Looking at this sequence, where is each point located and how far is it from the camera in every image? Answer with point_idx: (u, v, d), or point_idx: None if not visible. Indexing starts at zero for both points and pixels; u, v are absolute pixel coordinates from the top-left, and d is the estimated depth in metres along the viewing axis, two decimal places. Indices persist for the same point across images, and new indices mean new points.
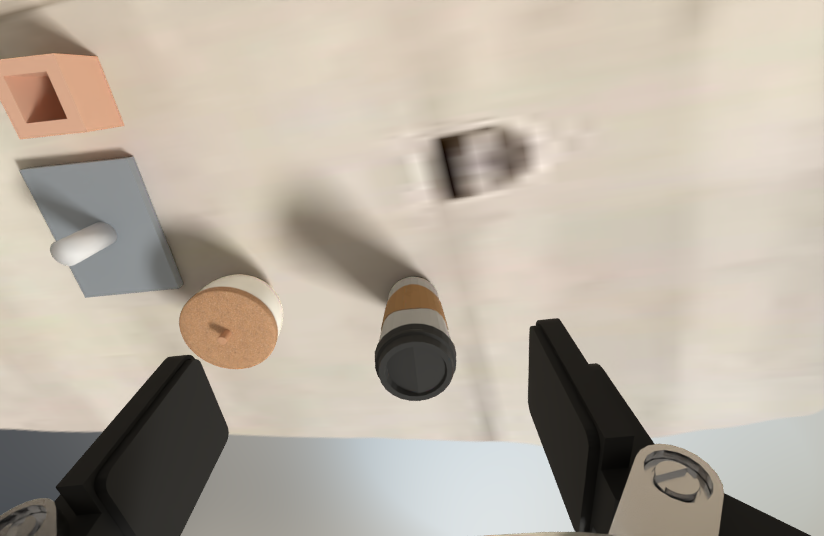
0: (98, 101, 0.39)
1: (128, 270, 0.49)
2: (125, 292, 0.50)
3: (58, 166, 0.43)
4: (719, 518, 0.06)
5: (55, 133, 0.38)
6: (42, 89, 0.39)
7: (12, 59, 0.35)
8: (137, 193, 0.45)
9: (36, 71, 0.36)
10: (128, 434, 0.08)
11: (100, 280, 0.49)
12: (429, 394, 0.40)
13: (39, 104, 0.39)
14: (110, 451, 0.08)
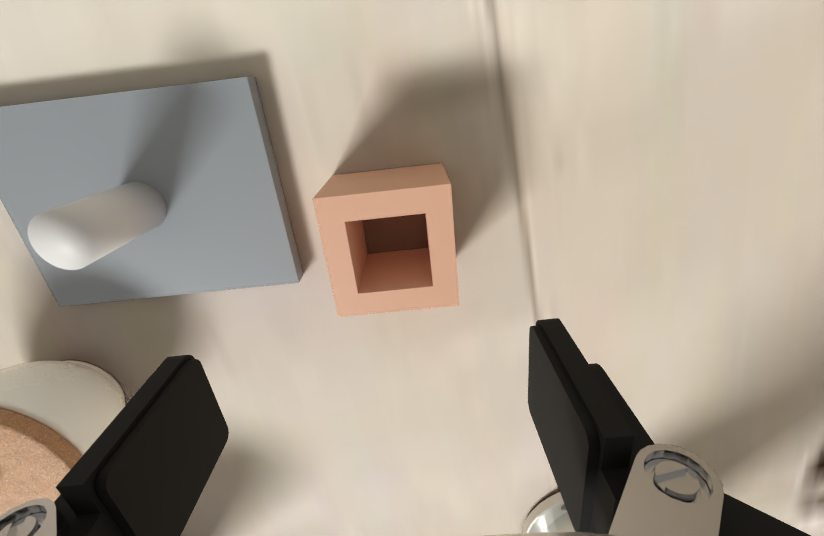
0: None
1: None
2: (7, 207, 0.23)
3: (267, 160, 0.23)
4: (719, 518, 0.06)
5: (330, 266, 0.20)
6: None
7: (452, 240, 0.20)
8: (239, 284, 0.26)
9: (433, 270, 0.21)
10: (128, 434, 0.08)
11: (19, 164, 0.22)
12: None
13: None
14: (109, 451, 0.08)
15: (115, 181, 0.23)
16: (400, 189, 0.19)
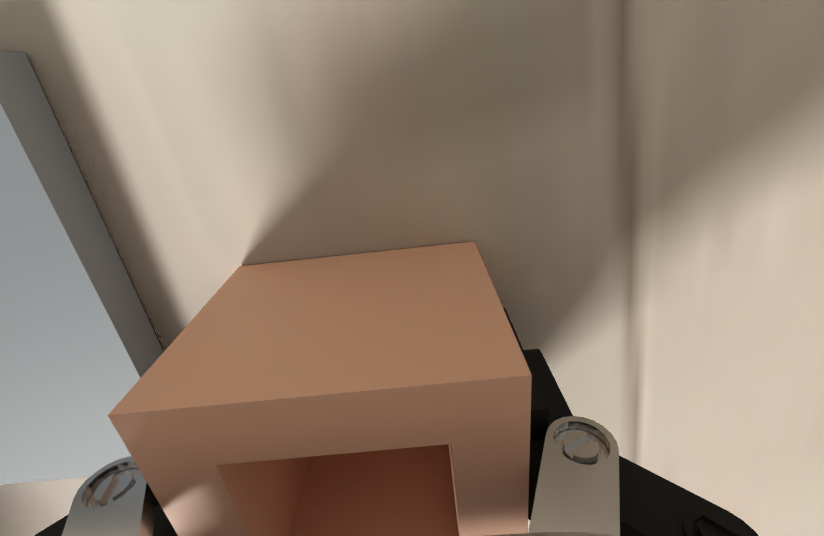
0: None
1: None
2: None
3: (74, 247, 0.10)
4: (618, 472, 0.07)
5: None
6: None
7: (522, 498, 0.07)
8: (66, 472, 0.13)
9: None
10: None
11: None
12: None
13: None
14: None
15: None
16: (374, 389, 0.06)
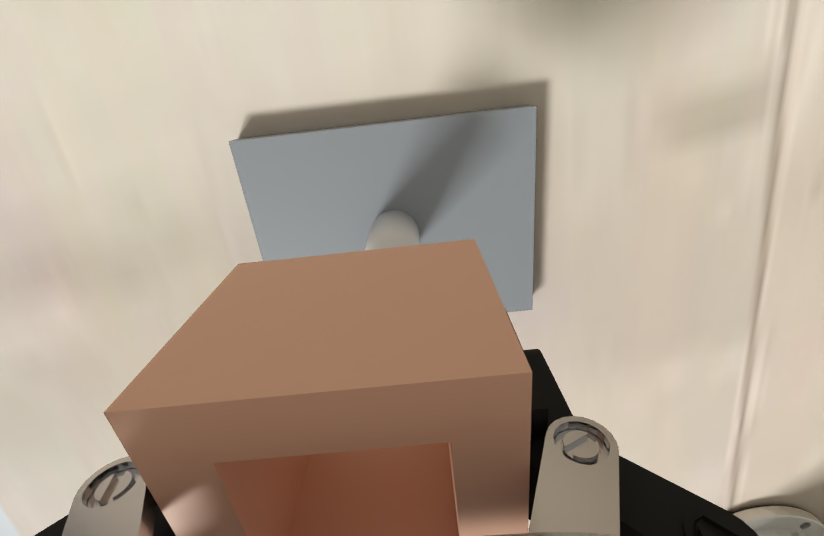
0: None
1: (312, 255, 0.24)
2: (258, 235, 0.23)
3: (532, 188, 0.22)
4: (618, 472, 0.07)
5: None
6: None
7: (522, 497, 0.07)
8: None
9: None
10: None
11: (281, 192, 0.22)
12: None
13: None
14: None
15: (374, 210, 0.22)
16: (373, 386, 0.06)
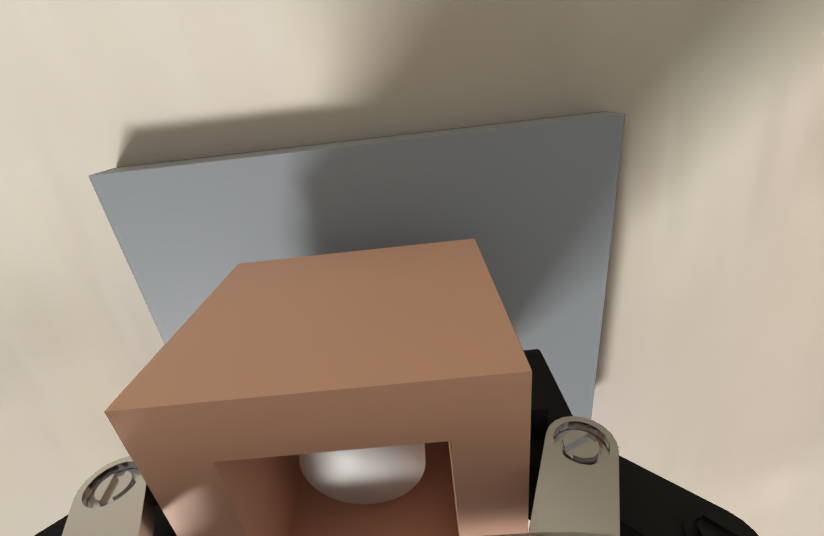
0: None
1: None
2: (158, 321, 0.14)
3: (605, 249, 0.13)
4: (618, 472, 0.07)
5: None
6: None
7: (522, 496, 0.07)
8: None
9: None
10: None
11: (190, 257, 0.13)
12: None
13: None
14: None
15: None
16: (373, 385, 0.06)
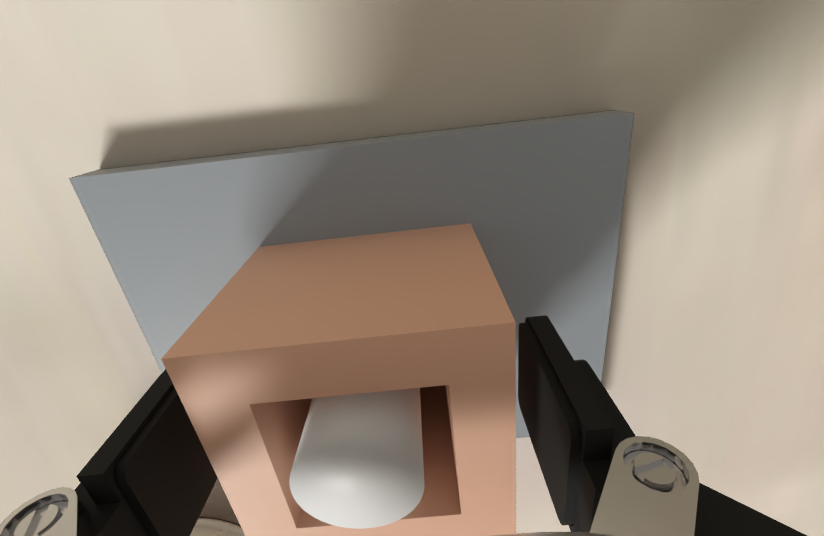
0: None
1: None
2: (146, 329, 0.14)
3: (612, 254, 0.13)
4: (696, 506, 0.06)
5: (228, 484, 0.09)
6: None
7: (510, 435, 0.08)
8: None
9: (462, 487, 0.09)
10: (145, 426, 0.08)
11: (177, 263, 0.13)
12: None
13: None
14: (127, 442, 0.08)
15: None
16: (384, 335, 0.07)
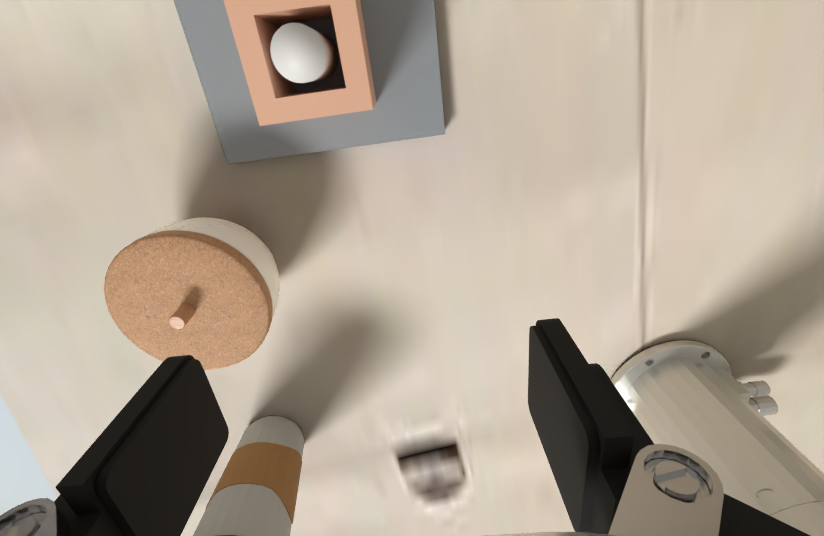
0: None
1: (246, 81, 0.27)
2: (196, 60, 0.26)
3: (433, 9, 0.26)
4: (719, 518, 0.06)
5: (245, 67, 0.22)
6: (318, 15, 0.24)
7: (358, 34, 0.21)
8: (392, 136, 0.29)
9: (344, 70, 0.22)
10: (128, 434, 0.08)
11: (213, 15, 0.25)
12: None
13: (293, 16, 0.23)
14: (109, 451, 0.08)
15: None
16: None
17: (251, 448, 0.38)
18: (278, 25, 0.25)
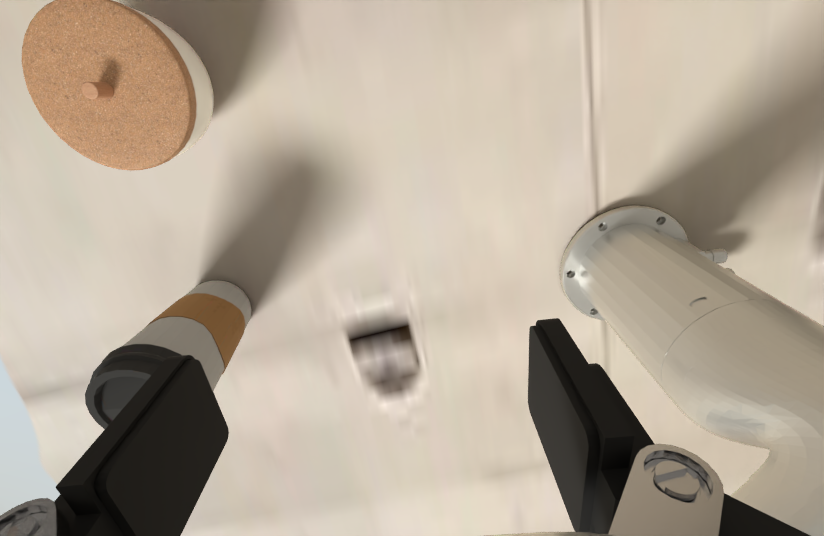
0: None
1: None
2: None
3: None
4: (719, 518, 0.06)
5: None
6: None
7: None
8: None
9: None
10: (128, 434, 0.08)
11: None
12: (105, 423, 0.30)
13: None
14: (109, 451, 0.08)
15: None
16: None
17: (190, 297, 0.37)
18: None
